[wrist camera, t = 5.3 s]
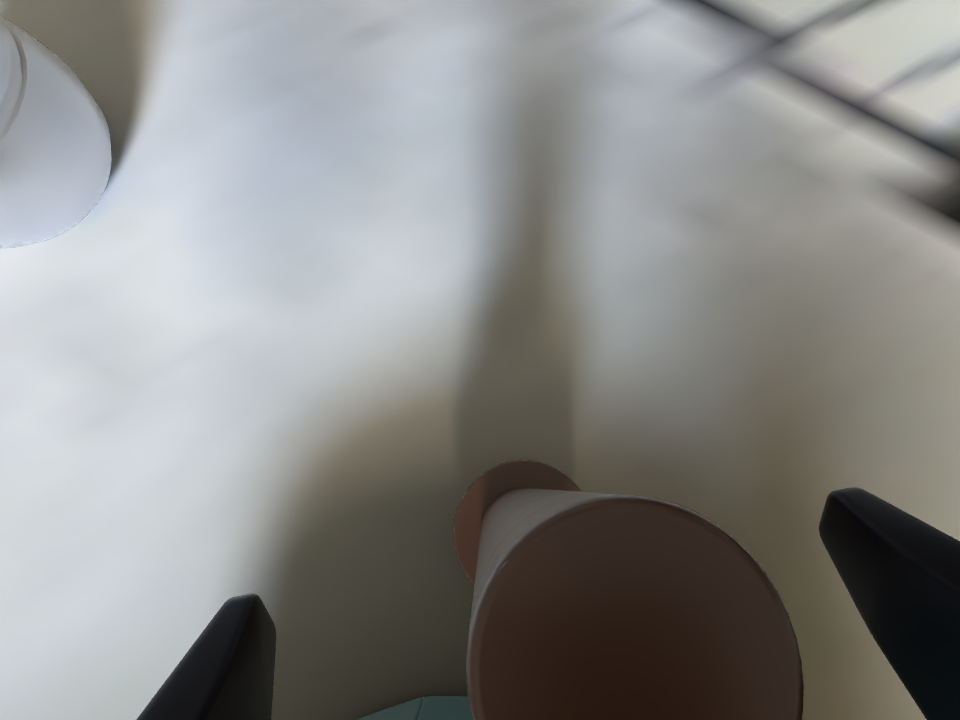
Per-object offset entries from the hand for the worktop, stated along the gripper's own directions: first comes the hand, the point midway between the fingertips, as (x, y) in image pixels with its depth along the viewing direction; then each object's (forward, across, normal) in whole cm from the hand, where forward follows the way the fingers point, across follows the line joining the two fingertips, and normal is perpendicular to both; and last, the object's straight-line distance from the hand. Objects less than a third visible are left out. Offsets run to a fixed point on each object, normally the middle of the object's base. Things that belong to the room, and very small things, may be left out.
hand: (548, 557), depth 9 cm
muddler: (+6, 0, +6) cm, 9 cm away
